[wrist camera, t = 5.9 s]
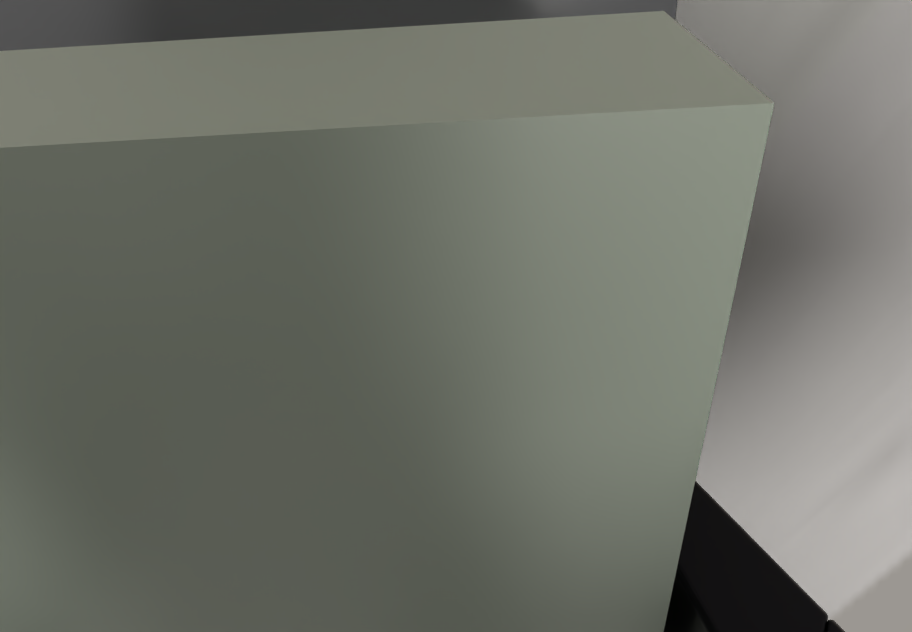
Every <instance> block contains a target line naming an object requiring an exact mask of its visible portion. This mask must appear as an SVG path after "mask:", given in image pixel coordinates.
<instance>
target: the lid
mask: <svg viewBox="0 0 912 632" xmlns="http://www.w3.org/2000/svg"><path fill="white" fill-rule="evenodd" d="M773 108H774V102H773V101H771V100H770V99H769V98H768V97H767V96H765V95H764V94H763V93H762V92H761V91H759V90H758V89H757V88H756V87H755V86H753V85H752V84H751V83H750V82H749V81H747V80H746V79H745V78H744V77H743V76H741V75H740V74H739V73H738V72H737V71H735V70H734V69H733V68H732V67H731V66H729V65H728V64H727V63H726V62H725V61H723V60H722V59H721V58H720V57H719V56H717V55H716V54H715V53H714V52H713V51H711V50H710V49H709V48H708V47H707V46H705V45H704V44H703V43H702V42H701V41H699V40H698V39H697V38H696V37H695V36H693V35H692V34H691V33H690V32H689V31H687V30H686V29H685V28H684V27H683V26H681V25H680V24H679V23H678V22H677V21H675V20H674V19H673V18H672V17H671V16H669V15H668V14H667V13H666V12H665V11H653V12H636V13H620V14H603V15H587V16H570V17H554V18H537V19H521V20H504V21H488V22H471V23H455V24H438V25H422V26H405V27H389V28H372V29H356V30H339V31H322V32H306V33H289V34H273V35H256V36H240V37H223V38H207V39H190V40H174V41H157V42H141V43H124V44H108V45H91V46H75V47H58V48H42V49H25V50H9V51H0V632H664V627H665V623H666V618H667V613H668V608H669V604H670V599H671V594H672V589H673V584H674V580H675V575H676V570H677V565H678V561H679V556H680V551H681V546H682V542H683V537H684V532H685V527H686V522H687V518H688V513H689V508H690V503H691V499H692V494H693V489H694V484H695V480H696V475H697V470H698V465H699V460H700V456H701V451H702V446H703V441H704V437H705V432H706V427H707V422H708V418H709V413H710V408H711V403H712V398H713V394H714V389H715V384H716V379H717V375H718V370H719V365H720V360H721V356H722V351H723V346H724V341H725V337H726V332H727V327H728V322H729V317H730V313H731V308H732V303H733V298H734V294H735V289H736V284H737V279H738V275H739V270H740V265H741V260H742V255H743V251H744V246H745V241H746V236H747V232H748V227H749V222H750V217H751V213H752V208H753V203H754V198H755V193H756V189H757V184H758V179H759V174H760V170H761V165H762V160H763V155H764V151H765V146H766V141H767V136H768V131H769V127H770V122H771V117H772V112H773Z"/></svg>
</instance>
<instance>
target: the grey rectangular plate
mask: <svg viewBox="0 0 912 632" xmlns="http://www.w3.org/2000/svg"><path fill="white" fill-rule="evenodd" d="M676 8H677V0H0V51H9V50H25V49H42V48H58V47H75V46H91V45H108V44H124V43H141V42H157V41H174V40H190V39H207V38H223V37H240V36H256V35H273V34H289V33H306V32H322V31H339V30H356V29H372V28H389V27H405V26H422V25H438V24H455V23H471V22H488V21H504V20H521V19H537V18H554V17H570V16H587V15H603V14H620V13H636V12H653V11H665V12H666V13H667V14H668V15H669V16H671V17H672V18H673V19H674V20H675V16H676Z"/></svg>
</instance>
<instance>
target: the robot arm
mask: <svg viewBox="0 0 912 632" xmlns="http://www.w3.org/2000/svg"><path fill="white" fill-rule="evenodd" d="M827 620H828V615H827V614H826V612H825V611H824V610H823V609H822V608H821V607H820V606H819V605H818V604H817V603H816V602H815V601H814V600H813V599H812V598H811V597H810V596H809V595H808V594H807V593H806V592H805V591H804V590H803V589H802V588H801V587H800V586H799V585H798V584H797V583H796V582H795V581H794V580H793V579H792V578H791V577H790V576H789V575H788V574H787V573H786V572H785V571H784V570H783V569H782V568H781V567H780V566H779V565H778V564H777V563H776V562H775V561H774V560H773V559H772V558H771V557H770V556H769V555H768V554H767V553H766V552H765V551H764V550H763V549H762V548H761V547H760V546H759V545H758V544H757V543H756V542H755V541H754V540H753V539H752V538H751V537H750V536H749V535H748V534H747V533H746V532H745V531H744V529H743V528H742V527H741V526H740V525H739V524H738V523H737V522H736V521H735V520H734V519H733V518H732V517H731V516H730V515H729V514H728V513H727V512H726V511H725V510H724V509H723V508H722V507H721V506H720V505H719V504H718V503H717V502H716V501H715V500H714V499H713V498H712V497H711V496H710V495H709V494H708V493H707V492H706V491H705V490H704V489H703V488H702V487H701V486H700V485H699V484H698V483H697V482H696V481H695V484H694V489H693V494H692V499H691V503H690V508H689V513H688V518H687V522H686V527H685V532H684V537H683V542H682V546H681V551H680V556H679V561H678V565H677V570H676V575H675V580H674V584H673V589H672V594H671V599H670V604H669V608H668V613H667V618H666V623H665V627H664V632H845V631H844V630H843V629H842V628H841V627H840V626H839V625H838V624H836V622H835V621H834V620H828V621H827Z"/></svg>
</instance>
